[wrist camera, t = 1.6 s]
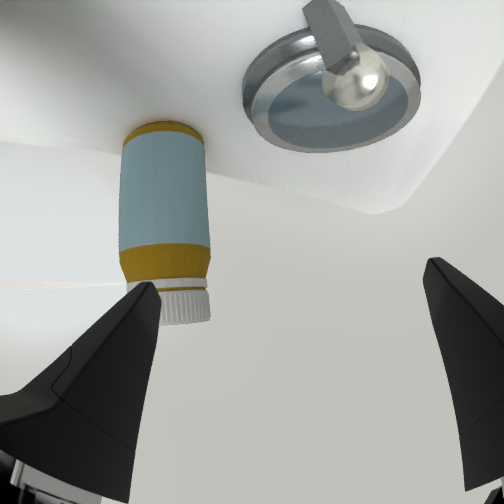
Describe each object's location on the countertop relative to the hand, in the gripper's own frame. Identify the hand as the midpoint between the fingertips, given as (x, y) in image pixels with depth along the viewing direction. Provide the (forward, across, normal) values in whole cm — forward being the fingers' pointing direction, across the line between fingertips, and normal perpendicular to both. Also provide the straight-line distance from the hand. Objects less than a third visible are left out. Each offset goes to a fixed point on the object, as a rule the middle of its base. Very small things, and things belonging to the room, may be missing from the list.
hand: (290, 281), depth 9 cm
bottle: (+17, +10, -1) cm, 20 cm away
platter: (+15, -4, -3) cm, 15 cm away
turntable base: (+16, -4, -4) cm, 16 cm away
